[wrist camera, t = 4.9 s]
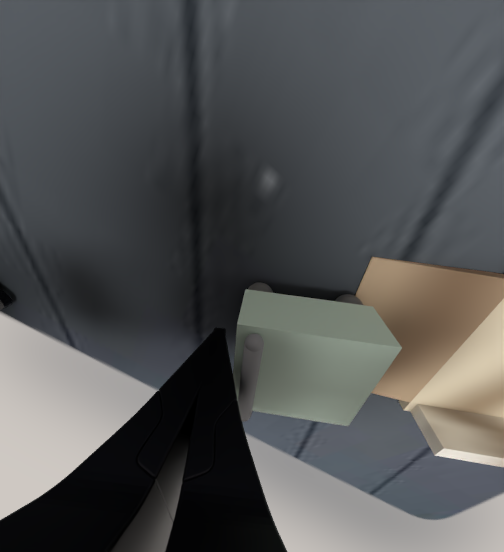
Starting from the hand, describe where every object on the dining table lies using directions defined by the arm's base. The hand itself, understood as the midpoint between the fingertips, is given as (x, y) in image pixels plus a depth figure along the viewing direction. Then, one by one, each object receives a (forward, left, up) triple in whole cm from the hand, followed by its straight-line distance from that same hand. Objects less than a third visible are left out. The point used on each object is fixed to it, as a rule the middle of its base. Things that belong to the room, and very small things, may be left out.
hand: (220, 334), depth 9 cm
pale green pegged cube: (+3, -2, -1) cm, 4 cm away
